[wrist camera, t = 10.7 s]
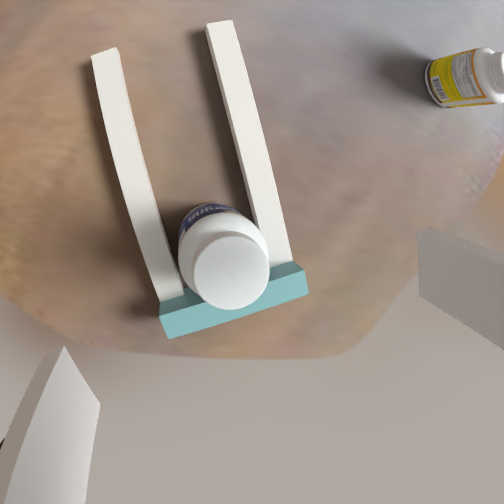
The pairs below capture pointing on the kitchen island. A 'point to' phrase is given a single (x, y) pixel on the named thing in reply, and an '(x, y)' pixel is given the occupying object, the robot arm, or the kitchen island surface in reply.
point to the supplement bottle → (467, 78)
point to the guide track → (253, 171)
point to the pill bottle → (223, 256)
